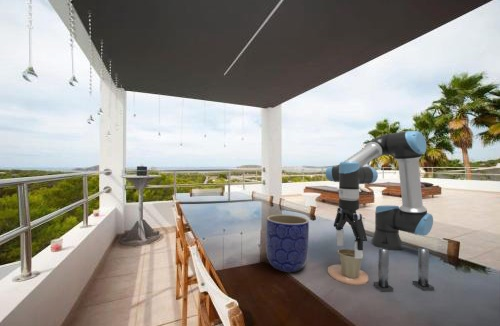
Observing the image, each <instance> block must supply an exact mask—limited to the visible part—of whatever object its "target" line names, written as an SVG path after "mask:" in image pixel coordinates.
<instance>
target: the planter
mask: <svg viewBox="0 0 500 326" xmlns="http://www.w3.org/2000/svg"><path fill="white" fill-rule="evenodd" d="M265 225H266V226H265V252H266V253H265V254H266V257H267V261H268V262H269V264H270V265H271V267H272V268H274V269H276V270H278V271H280V272H285V273H292V272H299V271H300V270H301V269H302V268H303V267H304V265H305V264H306V262H307V259H308V250H309V236H310V235H309V234H310V231H309V230H310V221H309V219H308V218H306V217H303V216H298V215H293V214H292V215H291V214H271V215H269V216H267V217H266V223H265Z"/></svg>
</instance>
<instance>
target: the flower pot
mask: <svg viewBox="0 0 500 326" xmlns="http://www.w3.org/2000/svg"><path fill="white" fill-rule="evenodd" d="M337 253H338V256H339V263H340V265H341V271H342V274H343V275H345V276H346V277H349V278H356V277H359V271H360V270H361V264H362V260H363V258H358V259H356V258H355V249H351V248H340V249H337Z"/></svg>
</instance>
